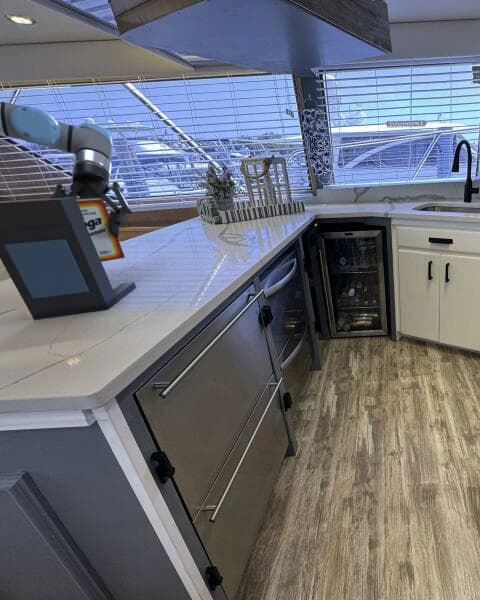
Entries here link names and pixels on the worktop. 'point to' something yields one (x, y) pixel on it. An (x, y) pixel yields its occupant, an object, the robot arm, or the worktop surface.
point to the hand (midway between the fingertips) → (85, 236)
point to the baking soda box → (100, 229)
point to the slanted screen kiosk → (54, 259)
